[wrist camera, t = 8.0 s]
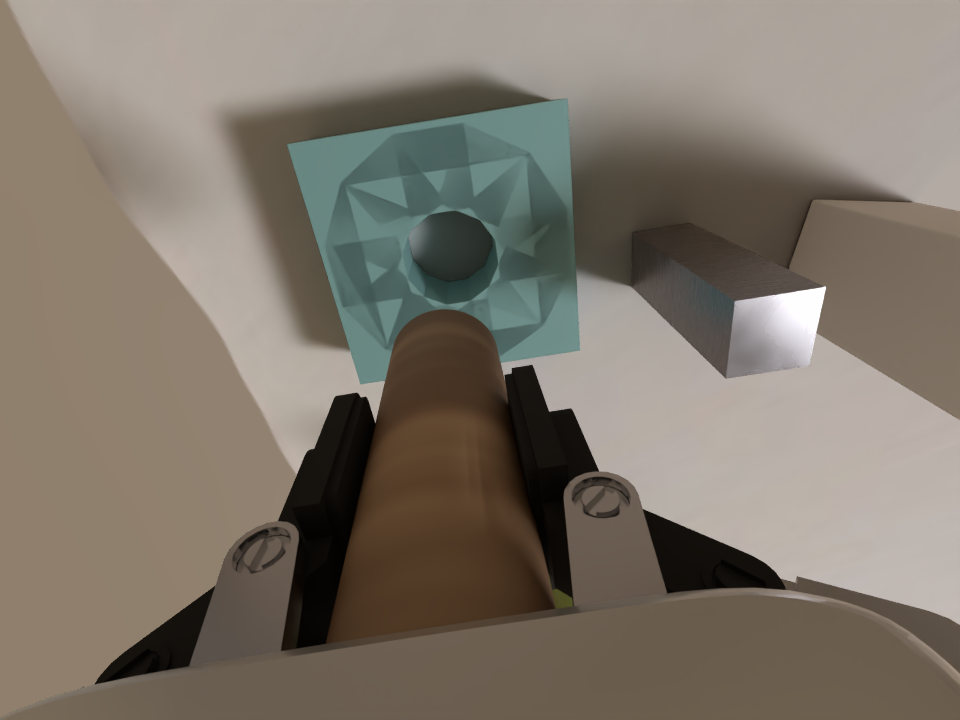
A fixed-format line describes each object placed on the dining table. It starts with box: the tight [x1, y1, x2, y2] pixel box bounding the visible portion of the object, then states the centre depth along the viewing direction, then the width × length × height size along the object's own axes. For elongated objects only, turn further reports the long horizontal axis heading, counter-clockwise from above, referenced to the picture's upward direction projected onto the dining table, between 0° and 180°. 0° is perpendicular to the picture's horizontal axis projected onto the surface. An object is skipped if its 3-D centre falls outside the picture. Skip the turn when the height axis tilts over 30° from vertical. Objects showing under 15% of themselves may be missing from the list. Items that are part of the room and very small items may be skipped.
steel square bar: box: [632, 223, 826, 378], centre depth 25 cm, size 4×4×12 cm
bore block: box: [287, 99, 580, 384], centre depth 27 cm, size 13×13×4 cm
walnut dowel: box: [326, 309, 556, 644], centre depth 11 cm, size 4×4×12 cm
